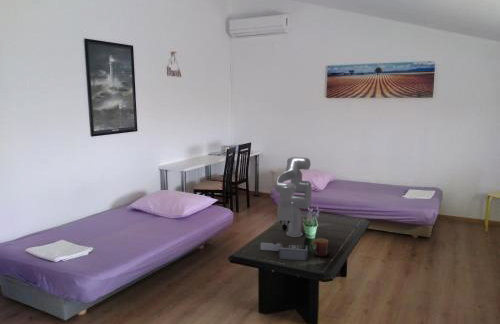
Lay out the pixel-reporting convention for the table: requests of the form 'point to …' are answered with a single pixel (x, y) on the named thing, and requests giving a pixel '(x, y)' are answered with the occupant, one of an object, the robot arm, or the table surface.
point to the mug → (320, 247)
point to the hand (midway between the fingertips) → (284, 230)
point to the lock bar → (270, 246)
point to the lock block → (293, 246)
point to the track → (268, 250)
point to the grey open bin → (293, 253)
